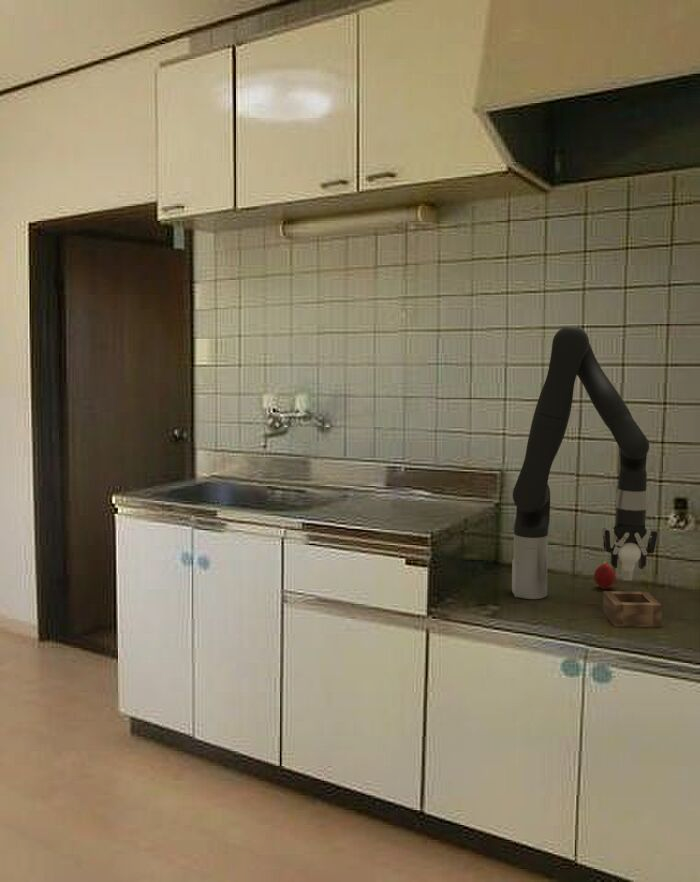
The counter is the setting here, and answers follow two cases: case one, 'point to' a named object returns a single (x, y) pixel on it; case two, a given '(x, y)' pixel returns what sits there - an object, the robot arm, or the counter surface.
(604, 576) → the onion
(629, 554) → the lightbulb
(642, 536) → the robot arm
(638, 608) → the socket block
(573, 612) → the counter surface
